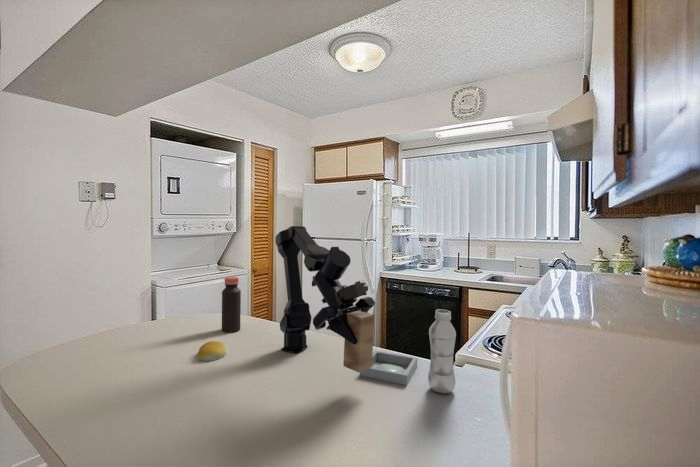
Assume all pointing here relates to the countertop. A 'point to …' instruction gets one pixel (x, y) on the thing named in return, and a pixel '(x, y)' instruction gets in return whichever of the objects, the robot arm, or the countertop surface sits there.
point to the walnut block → (359, 341)
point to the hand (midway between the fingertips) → (363, 340)
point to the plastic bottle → (442, 353)
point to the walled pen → (391, 368)
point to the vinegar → (231, 306)
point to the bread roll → (211, 351)
